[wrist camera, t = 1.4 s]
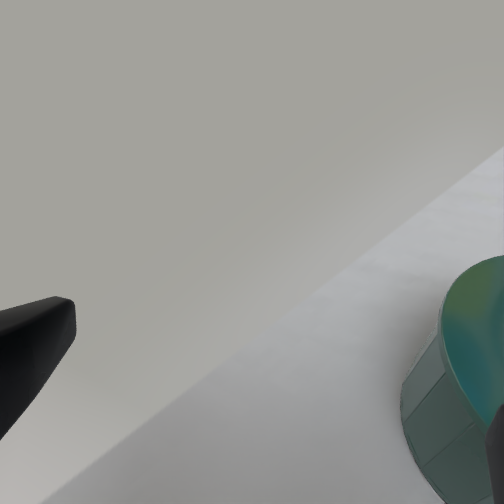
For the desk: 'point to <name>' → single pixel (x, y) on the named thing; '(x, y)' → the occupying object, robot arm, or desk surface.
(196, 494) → the desk surface
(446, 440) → the pot
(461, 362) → the lid
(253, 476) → the desk surface
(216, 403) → the desk surface
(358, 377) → the desk surface
